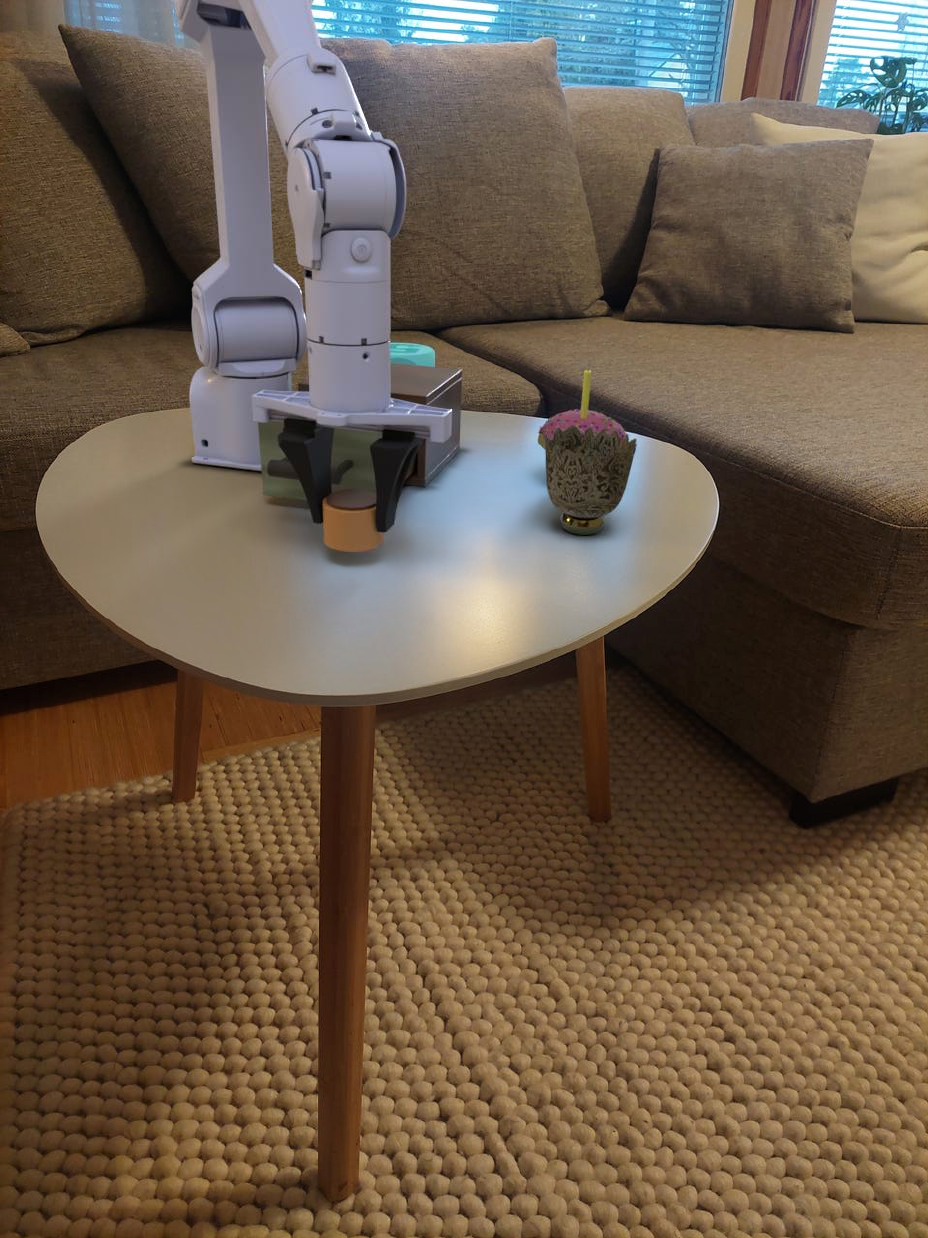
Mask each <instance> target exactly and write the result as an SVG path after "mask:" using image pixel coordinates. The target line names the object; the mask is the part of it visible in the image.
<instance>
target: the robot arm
mask: <svg viewBox="0 0 928 1238" xmlns="http://www.w3.org/2000/svg"><path fill="white" fill-rule="evenodd" d="M314 1H315V0H173V4H174V12H175V15H176V17H177V20H178V21H177V22H178V29H179V31H180V32H181V33H182V34H184V35H186V36H187V37H189V38H190V39H192V40H194V41H196V42H197V43H198V44H199V46H200V50H201V51H200V52H201V57H202V59H203V64H204V69H205V75H206V87H207V100H208V111H209V112H208V114H209V124H210V138H211V151H212V164H213V165H212V166H213V175H214V176H213V178H214V189H215V190H214V192H215V203H216V214H217V228H218V229H217V230H218V244H219V254H220V255H219V259H218V260H216V262H214V263H213V264H212V265H211V266H210V267H208V268H207V269H206V270H205V271H204V272H202V273H201V274H200V275H199V276H198V277H197V278H196V279H195V280H194V281H193V283H192V284H193V286H192V288H191V292H192V293H191V296H192V308H191V329H192V338H193V345H194V348H195V351H196V354H197V357H198V360H199V362H200V363H201V364H202V365H203V366H200V368H198V369H197V370H196V371H195V372H194V374H193V376H192V378H191V381H190V385H189V394H188V395H189V399H188V400H189V409H190V420H191V429H192V436H193V446H194V456H192V457H191V463H194V464H201V465H209V466H215V467H216V466H217V467H223V468H224V467H225V468H231V469H241V470H247V471H248V470H249V471H250V470H251V471H257V472H262V471H261V457H260V444H259V431H258V422H261V423H267V422H269V421H277V422H284V428H283V432H282V433H280V434H279V435H278V436H277V438H278V444H279V447H280V448H281V449H282V451H283V452H284V454H285V455H286V457H287V458H288V460H289V462H290V463H291V465H292V467H293V468H294V470H295V472H296V474H297V476H298V478H299V481H300V483H301V485H302V488H303V490H304V493H305V496H306V499H307V500H306V502H307V504H308V508H309V512H310V515H311V518H312V519H311V520H312V523H314V524H320V525H323V506H322V502H323V500H324V498H326V497H327V496H328V495H329V494H331V493H332V486H331V456H332V444H333V435H334V428H339V429H348V430H357V431H366V432H375V433H382V438H379V439H378V440H376V441H375V442H374V443H373V444H371V445H370V453H371V457H372V462H373V468H374V474H375V483H376V527H377V532H384V534H385V533H387V532H389V530H391V528H393V526H394V525H395V523H396V522H395V520H396V514H397V509H398V505H399V501H400V497H401V493H402V490H403V487H404V485H405V484H404V481H405V479H406V476H407V474H408V471H409V469H410V466H411V464H412V462H413V460H414V458H415V456H416V454H417V452H418V450H419V448H420V446H421V444H422V442H423V439H424V438H428V439H430V441H431V442H437V443H444V442H445V441H447V440H448V439H449V437H450V436H451V425H452V410H451V409H443V408H436V407H430V406H426V405H421V404H416V403H412V402H407V401H403V400H398V399H393V398H391V368H390V343H391V336H392V335H391V331H392V329H391V328H392V327H391V326H392V325H391V317H392V316H391V310H392V309H391V307H392V306H391V302H392V301H391V293H392V292H391V291H392V290H391V286H392V285H391V280H392V279H391V240H392V239H395V238H396V237H397V236H398V234H399V233H400V231H401V229H402V226H403V224H404V220H405V216H406V210H407V193H408V192H407V177H406V172H405V167H404V163H403V159H402V156H401V154H400V150H399V148H398V146H397V144H396V143H395V142H394V141H393V140H392V139H389V138H383V135H382V133H381V132H380V131H373V130H371V129H370V128H369V125H368V123H367V120H366V118H365V115H364V112H363V110H362V107H361V104H360V102H359V100H358V97H357V94H356V92H355V89H354V87H353V85H352V82H351V79H350V77H349V74H348V72H347V69H346V67H345V65H344V63H343V61H342V60H341V59H340V58H339V57H338V56H337V55H336V54H335V53H334V52H332V51H330V50H329V49H326V48H324V47H322V45H321V40H320V37H319V33H318V29H317V25H316V23H315V19H314V14H313V11H312V5H313V3H314ZM266 61H267V63H268V65H269V67H270V68H269V70H268V72H267V74H266V77H265V62H266ZM267 106H268V109H269V112H270V115H271V117H272V120H273V123H274V126H275V129H276V133H277V135H278V138H279V140H280V143H281V147H282V149H283V152H284V155H285V157H286V160H287V172H286V173H287V174H286V195H287V204H288V211H289V216H290V220H291V223H292V227H293V232H294V240H295V255H296V256H297V257H296V258H297V264H298V265H300V266H303V277H304V303H305V311H304V303H303V292H302V289H301V287H300V285H299V284H298V282H297V281H296V279H294V277H293V276H291V274H289V273H287V272H286V271H285V270H283V269H282V268H281V267H279V266H278V265H277V264H275V262H274V260H275V259H274V242H273V241H274V239H273V223H272V222H273V220H272V201H271V181H270V178H271V177H270V161H269V160H270V159H269V145H268V144H269V141H268V140H269V139H268V121H267V119H268V118H267ZM306 353H307V367H308V378H309V392H298V391H293V388H292V372H297V364H299V363H301V362H302V360H303V358H305V355H306Z"/></svg>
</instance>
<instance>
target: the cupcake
mask: <svg viewBox="0 0 928 1238" xmlns="http://www.w3.org/2000/svg"><path fill="white" fill-rule="evenodd" d="M590 365H591V363H590V361H589V362H587V365H586V369H585V370H584V371H583V372H584V373H583V381H582V393H581V402H580V403H581V405H580V408H576V409H574V410H573V409H570V410H568V411H566V410H565V411H564V412H560V413H556V414H555V415H554V416H552V417H549V418H548V419H547V420H546V422H545V423H544V424H543V425H542V426H539V431H538V432H537V433H538V437H537V444H538V445H539V446H540V447H542V449H543V450H545V435H546V434H547V436H548V437H549V440H550V439H551V440H553V438H554V430H555V429H556V428H560V429H561V430H562V432H563V431H564V430H566V429H567V428H568V427H570V426H572V425H573V426H575V427H576V428H577V429H578V430H580V433H581V434H582V433H585V431H586V430H587V429H588V428H590V427H592V428H593V435H594V438H596V436H597V435H598V433H599V432H600V431H602V430H603V429H605V428H606V429H607V431H608V432H609V434H610V435H611V434H612V432H613V431H616V432H617V433H618V436H619V438H620V443H621V441H622V439H623V438H625V436H626V435H627V434H628V433H627V432H626V428H625V427H623V425H622V424H621V423H619V420H616V419H614V418H612V417H611V416H607V415H606V414H604V413H603V412H601V411H599V412H598V411H597V410H592V409H589V404H590V391H591V383H592V370H591V369H590V367H591V366H590ZM583 435H584V434H583Z"/></svg>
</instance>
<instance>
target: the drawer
mask: <svg viewBox="0 0 928 1238" xmlns="http://www.w3.org/2000/svg"><path fill="white" fill-rule="evenodd" d="M283 428H284V422H277V421H269V422H267V423H261V422H258V431H259V444H260V457H261V471H260V472H261V483H262V495H263V496H268V497H277V498H284V499H293V500H299V501H307V499H306V496H305V493H304V490H303V488H302V485H301V483H300V481H299V478H298V476H297V474H296V472H295V470H294V468H293V467H292V465H291V463H290V462H289V460H288V458H287V457H286V455H285V454H284V452H283V451H282V449H281V448H280V447H279V444H278V438H277V436H278V435H279V434H280V433H282V432H283ZM379 438H382V433H375V432H366V431H357V430H348V429H339V428H334V435H333V444H332V456H331V486H332V493H333V492H336V491H340V490H347V489H360V490H367V491H371V492H374V493H376V483H375V474H374V468H373V462H372V457H371V453H370V445H371V444H373V443H374V442H375V441H376V440H378V439H379ZM417 468H418V452H417V454H416V456H415V458H414V460H413V462H412V464H411V466H410V469H409V471H408V474H407V476H406V479H407V478H408V477H409V476H410V475H411V474H412V473H413V472H414V471H415V470H416V469H417ZM406 479H405V480H406Z"/></svg>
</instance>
